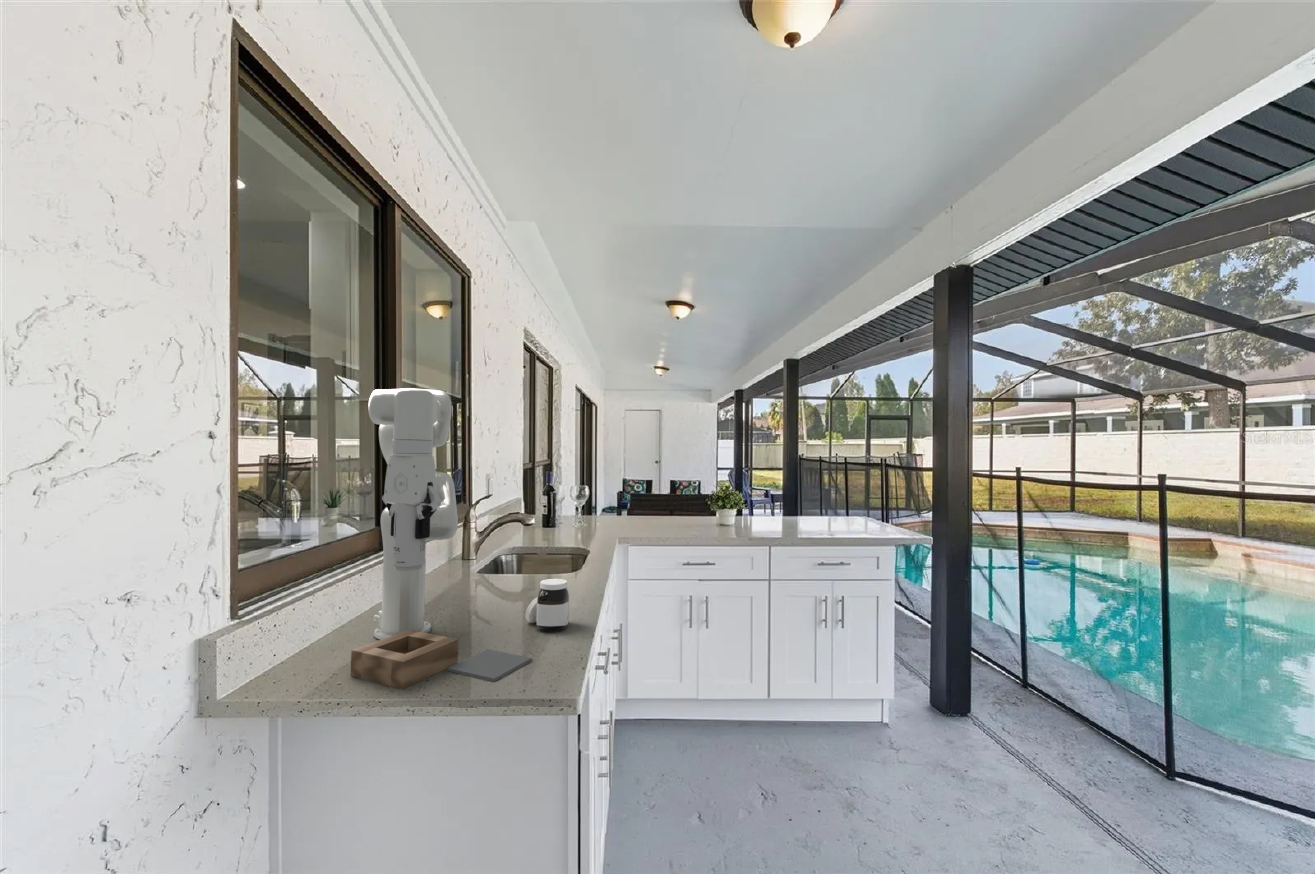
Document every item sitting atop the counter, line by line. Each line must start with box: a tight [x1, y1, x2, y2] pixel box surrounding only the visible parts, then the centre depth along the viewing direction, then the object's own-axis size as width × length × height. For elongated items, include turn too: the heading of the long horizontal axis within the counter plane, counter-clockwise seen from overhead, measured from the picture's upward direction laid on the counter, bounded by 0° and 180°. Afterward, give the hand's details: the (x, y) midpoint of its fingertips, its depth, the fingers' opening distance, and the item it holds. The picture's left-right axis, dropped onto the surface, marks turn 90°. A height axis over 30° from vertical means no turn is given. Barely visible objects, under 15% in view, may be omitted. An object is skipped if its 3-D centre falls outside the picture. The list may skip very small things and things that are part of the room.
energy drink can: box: [393, 501, 427, 571], centre depth 112 cm, size 6×6×15 cm
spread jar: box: [524, 578, 570, 633], centre depth 140 cm, size 12×11×12 cm
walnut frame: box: [350, 630, 459, 690], centre depth 111 cm, size 14×14×5 cm
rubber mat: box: [446, 648, 533, 682], centre depth 113 cm, size 12×12×1 cm
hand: (410, 536), depth 112 cm, fingers closed on energy drink can, 6 cm apart
